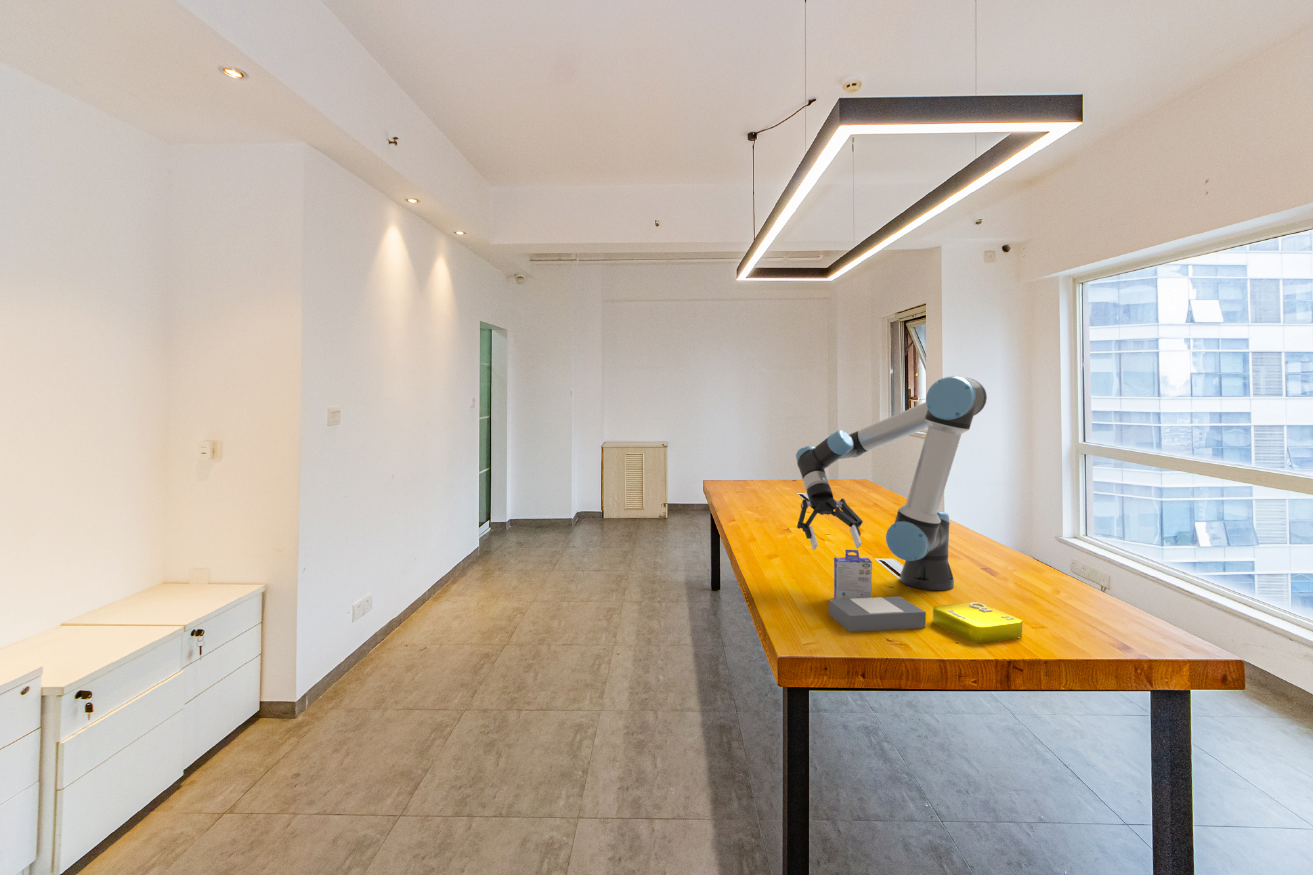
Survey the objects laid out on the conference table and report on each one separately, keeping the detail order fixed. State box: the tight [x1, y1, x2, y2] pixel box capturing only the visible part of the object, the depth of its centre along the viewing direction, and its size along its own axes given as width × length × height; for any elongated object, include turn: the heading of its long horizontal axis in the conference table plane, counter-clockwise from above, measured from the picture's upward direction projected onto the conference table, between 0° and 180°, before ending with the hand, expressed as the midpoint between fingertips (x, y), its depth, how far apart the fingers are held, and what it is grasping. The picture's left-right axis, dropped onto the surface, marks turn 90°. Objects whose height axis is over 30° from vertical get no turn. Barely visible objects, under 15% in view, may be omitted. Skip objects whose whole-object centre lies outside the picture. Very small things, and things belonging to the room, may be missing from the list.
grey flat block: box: [828, 596, 927, 633], centre depth 150 cm, size 20×12×4 cm, turn 98°
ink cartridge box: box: [833, 549, 873, 600], centre depth 165 cm, size 10×6×14 cm, turn 82°
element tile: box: [932, 601, 1023, 644], centre depth 145 cm, size 15×15×5 cm
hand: (837, 546), depth 173 cm, fingers open, 13 cm apart
